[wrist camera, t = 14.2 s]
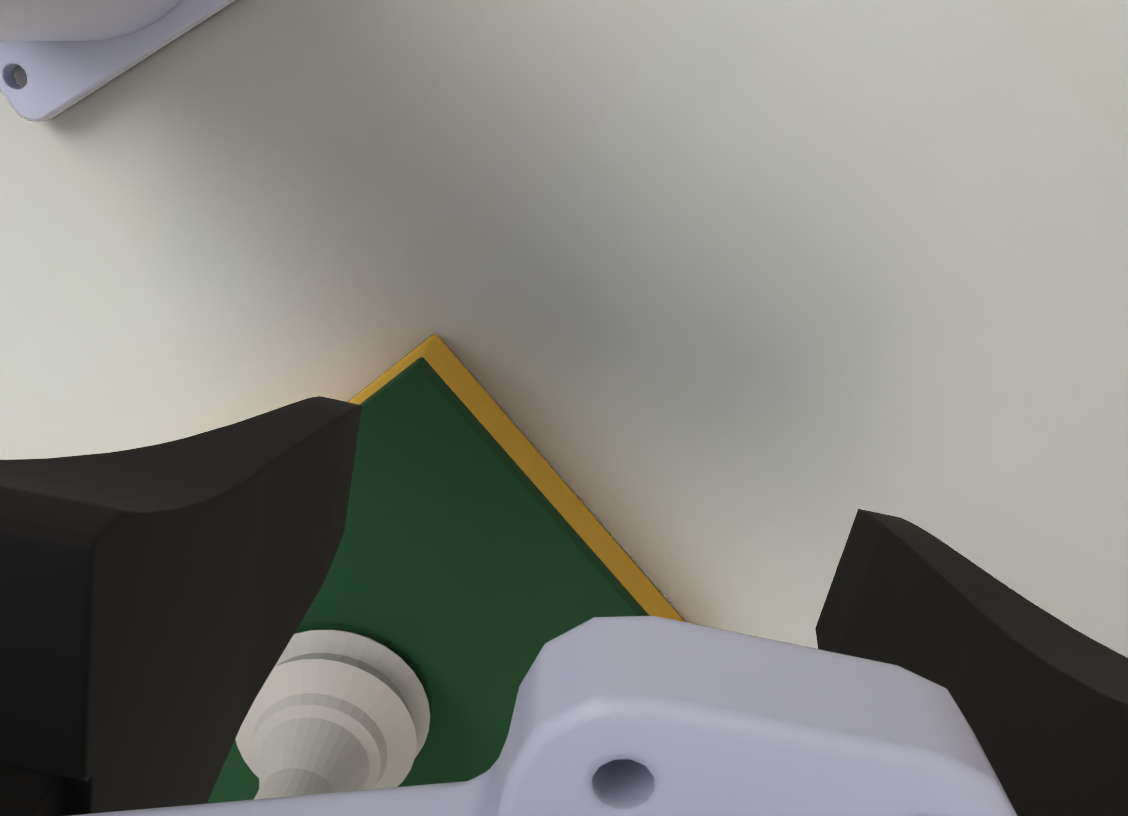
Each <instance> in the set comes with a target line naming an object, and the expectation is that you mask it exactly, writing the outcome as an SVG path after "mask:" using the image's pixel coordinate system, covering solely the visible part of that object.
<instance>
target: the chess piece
mask: <svg viewBox="0 0 1128 816" xmlns="http://www.w3.org/2000/svg"><path fill="white" fill-rule="evenodd" d="M429 724H430V710H429V703H428V699H427V696H426V694H425V691H424V688H423V686H422V684H421V682H420V681H419V679H418V678H417V676H416V675H415V673H414V672H413V670H412V669H411V668H410V667H409V666H408V665H407V664H406V663H405V662H404V661H403V660H402V659H401V658H400V657H399V656H398V655H397V654H395V653H394V652H393V651H391V650H390V649H389V648H387V647H386V646H384V645H383V644H381V643H379V642H377V641H375V640H373V639H371V638H369V637H366V636H363V635H359V634H356V633H353V632H347V631H340V630H311V631H306V632H301V633H297V634H294V635H293V637H292V638H291V640H290V641H289V643H288V645H287V646H286V648H285V650H284V651H283V653H282V655H281V656H280V658H279V660H278V661H277V663H276V665H275V666H274V668H273V670H272V672H271V673H270V675H269V677H268V678H267V680H266V682H265V683H264V685H263V687H262V688H261V690H260V692H259V693H258V695H257V697H256V698H255V700H254V702H253V704H252V706H251V708H250V710H249V712H248V713H247V715H246V717H245V719H244V721H243V723H242V725H241V727H240V730H239V732H238V734H237V736H236V743H237V747H238V749H239V751H240V753H241V755H242V757H243V759H244V761H245V762H246V764H247V765H248V766H249V768H250V769H251V770H252V772H253V773H254V774H255V775H256V776H257V777H258V778H259V791H258V792H257V794H256V796H255V798H254V799H266V798H277V797H289V796H300V795H312V794H323V793H335V792H347V791H358V790H370V789H381V788H393V787H398V786H399V785H400V784H401V783H402V782H403V780H404V779H405V777H406V776H407V774H408V773H409V771H410V770H411V767H412V765H413V762H414V759H415V758H416V756H417V755H418V753H419V752H420V750H421V749H422V747H423V746H424V743H425V740H426V737H427V735H428V732H429Z"/></svg>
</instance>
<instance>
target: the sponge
mask: <svg viewBox="0 0 1128 816" xmlns="http://www.w3.org/2000/svg"><path fill="white" fill-rule="evenodd" d="M348 402H349V403H354V404H358V405H362V410H361V417H360V424H359V431H358V438H357V445H356V452H355V460H354V467H353V474H352V481H351V488H350V495H349V502H348V509H347V516H346V523H345V530H344V534H343V536H342V539H341V541H340V544H339V547H338V549H337V552H336V554H335V557H334V559H333V562H332V564H331V567H330V569H329V571H328V574H327V576H326V579H325V581H324V583H323V585H322V587H321V589H320V591H319V592H318V594H317V596H316V598H315V599H314V601H313V603H312V604H311V606H310V608H309V610H308V611H307V613H306V615H305V616H304V618H303V620H302V621H301V623H300V625H299V627H298V628H297V630H296V632H295V633H294V634H297V633H301V632H306V631H311V630H340V631H347V632H353V633H356V634H359V635H363V636H366V637H369V638H371V639H373V640H375V641H377V642H379V643H381V644H383V645H384V646H386V647H387V648H389V649H390V650H391V651H393V652H394V653H395V654H397V655H398V656H399V657H400V658H401V659H402V660H403V661H404V662H405V663H406V664H407V665H408V666H409V667H410V668H411V669H412V670H413V672H414V673H415V675H416V676H417V678H418V679H419V681H420V682H421V684H422V686H423V688H424V691H425V694H426V696H427V699H428V703H429V710H430V724H429V732H428V735H427V737H426V740H425V743H424V746H423V747H422V749H421V750H420V752H419V753H418V755H417V756H416V758H415V759H414V762H413V765H412V767H411V770H410V771H409V773H408V774H407V776H406V777H405V779H404V780H403V782H402V783H401V784H400V785H399V786H398V787H404V786H416V785H427V784H439V783H451V782H462V781H469V780H471V779H473V778H476V777H477V776H479V775H481V774H483V773H485V772H486V771H488V770H489V769H490V768H491V767H492V765H493V764H494V763H495V762H496V761H497V759H498V758H499V756H500V754H501V751H502V749H503V747H504V744H505V742H506V739H507V737H508V733H509V728H510V724H511V720H512V716H513V711H514V707H515V703H516V698H517V694H518V690H519V686H520V684H521V683H522V681H523V679H524V678H525V676H526V674H527V673H528V671H529V669H530V668H531V666H532V664H533V663H534V661H535V659H536V658H537V656H538V654H539V652H540V651H541V649H542V647H543V646H544V644H545V643H547V642H549V641H551V640H553V639H554V638H556V637H558V636H560V635H562V634H564V633H566V632H568V631H569V630H571V629H573V628H575V627H577V626H579V625H581V624H583V623H584V622H586V621H588V620H590V619H592V618H594V617H626V616H657V617H662V618H667V619H672V620H677V621H682V622H685V621H684V620H683V619H682V618H681V617H680V615H679V614H678V613H677V612H676V611H675V610H674V608H673V607H672V606H671V605H670V604H669V603H668V602H667V600H666V599H665V598H664V597H663V596H662V595H661V593H660V592H659V591H658V590H657V589H656V588H655V587H654V585H653V584H652V583H651V582H650V581H649V580H648V578H647V577H646V576H645V575H644V574H643V573H642V571H641V570H640V569H639V568H638V567H637V566H636V565H635V563H634V562H633V561H632V560H631V559H630V558H629V556H628V555H627V554H626V553H625V552H624V551H623V549H622V548H621V547H620V546H619V545H618V544H617V543H616V541H615V540H614V539H613V538H612V537H611V536H610V534H609V533H608V532H607V531H606V530H605V529H604V528H603V526H602V525H601V524H600V523H599V522H598V521H597V519H596V518H595V517H594V516H593V515H592V514H591V512H590V511H589V510H588V509H587V508H586V507H585V506H584V504H583V503H582V502H581V501H580V500H579V499H578V497H577V496H576V495H575V494H574V493H573V492H572V490H571V489H570V488H569V487H568V486H567V485H566V484H565V482H564V481H563V480H562V479H561V478H560V477H559V475H558V474H557V473H556V472H555V471H554V470H553V469H552V467H551V466H550V465H549V464H548V463H547V462H546V460H545V459H544V458H543V457H542V456H541V455H540V453H539V452H538V451H537V450H536V449H535V448H534V447H533V445H532V444H531V443H530V442H529V441H528V440H527V438H526V437H525V436H524V435H523V434H522V433H521V432H520V430H519V429H518V428H517V427H516V426H515V425H514V423H513V422H512V421H511V420H510V419H509V418H508V416H507V415H506V414H505V413H504V412H503V411H502V410H501V408H500V407H499V406H498V405H497V404H496V403H495V401H494V400H493V399H492V398H491V397H490V396H489V394H488V393H487V392H486V391H485V390H484V389H483V388H482V386H481V385H480V384H479V383H478V382H477V381H476V379H475V378H474V377H473V376H472V375H471V374H470V373H469V371H468V370H467V369H466V368H465V367H464V366H463V364H462V363H461V362H460V361H459V360H458V359H457V357H456V356H455V355H454V354H453V353H452V352H451V351H450V349H449V348H448V347H447V346H446V345H445V344H444V342H443V341H442V340H441V339H440V338H439V337H438V336H437V335H436V334H434V335H432V336H431V337H429V338H428V339H427V340H426V341H424V342H423V343H422V344H420V345H419V346H418V347H417V348H415V349H414V350H413V351H412V352H410V353H409V354H408V355H407V356H405V357H404V358H403V359H401V360H400V361H399V362H398V363H396V364H395V365H394V366H393V367H391V368H390V369H389V370H388V371H386V372H385V373H384V374H382V375H381V376H380V377H379V378H377V379H376V380H375V381H374V382H372V383H371V384H370V385H369V386H367V387H366V388H365V389H363V390H362V391H361V392H360V393H358V394H357V395H356V396H355V397H353V398H352V399H351V400H350V401H348ZM258 791H259V778H258V777H257V776H256V775H255V774H254V773H253V772H252V770H251V769H250V768H249V766H248V765H247V764H246V762H245V761H244V759H243V757H242V755H241V753H240V751H239V749H238V747H237V743H236V739H235V741H234V743H233V745H232V747H231V750H230V752H229V754H228V756H227V759H226V761H225V763H224V765H223V768H222V770H221V772H220V774H219V777H218V779H217V781H216V783H215V786H214V788H213V790H212V793H211V795H210V797H209V800H208V802H207V804H208V803H219V802H231V801H242V800H254V798H255V796H256V794H257V792H258Z"/></svg>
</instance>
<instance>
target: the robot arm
mask: <svg viewBox="0 0 1128 816" xmlns="http://www.w3.org/2000/svg"><path fill="white" fill-rule="evenodd" d="M234 1H235V0H0V91H1V92H2V93H3V95H4V96H5V98H6V99H7V100H8V102H9V103H10V105H11V106H12V108H13V109H14V110H15V111H16V112H17V113H18V114H19V115H20V116H21V117H23V118H25V119H27V120H29V121H37V122H39V121H45V120H48V119H51V118H54V117H55V116H57V115H58V114H60V113H61V112H63V111H64V110H66V109H68V108H69V107H71V106H72V105H74V104H75V103H77V102H78V101H80V100H82V99H83V98H85V97H86V96H88V95H89V94H91V93H92V92H94V91H96V90H97V89H99V88H100V87H102V86H103V85H105V84H106V83H108V82H110V81H111V80H113V79H114V78H116V77H117V76H119V75H120V74H122V73H124V72H125V71H127V70H128V69H130V68H131V67H133V66H134V65H136V64H138V63H139V62H141V61H142V60H144V59H145V58H147V57H148V56H150V55H152V54H153V53H155V52H156V51H158V50H159V49H161V48H162V47H164V46H165V45H167V44H169V43H170V42H172V41H173V40H175V39H176V38H178V37H179V36H181V35H183V34H184V33H186V32H187V31H189V30H190V29H192V28H193V27H195V26H197V25H198V24H200V23H201V22H203V21H204V20H206V19H207V18H209V17H211V16H212V15H214V14H215V13H217V12H218V11H220V10H221V9H223V8H225V7H226V6H228V5H229V4H231V3H232V2H234ZM17 65H19V66H20V67H22V68H23V69H24V70H25V73H26V75H27V84H26V85H25V86H24V88H23V87H21V86H20V85H19V84H18V83H16V81H15V78H14V76H13V74H14V68H15V67H16V66H17ZM361 410H362V405H358V404H354V403H349V402H344V401H339V400H334V399H330V398H325V397H320V396H319V397H312V398H308V399H305V400H302V401H299V402H295V403H293V404H290V405H287V406H284V407H281V408H278V409H276V410H273V411H270V412H267V413H264V414H261V415H258V416H255V417H253V418H250V419H247V420H244V421H241V422H238V423H235V424H232V425H228V426H225V427H222V428H218V429H215V430H211V431H208V432H205V433H201V434H198V435H194V436H191V437H187V438H184V439H180V440H176V441H172V442H167V443H162V444H158V445H153V446H147V447H142V448H136V449H130V450H125V451H118V452H111V453H102V454H92V455H81V456H70V457H60V458H49V459H24V460H0V816H1128V658H1126V657H1124V656H1123V655H1121V654H1119V653H1117V652H1115V651H1113V650H1111V649H1109V648H1108V647H1106V646H1104V645H1102V644H1100V643H1098V642H1096V641H1094V640H1093V639H1091V638H1089V637H1087V636H1085V635H1084V634H1082V633H1080V632H1079V631H1077V630H1075V629H1073V628H1072V627H1070V626H1068V625H1067V624H1065V623H1063V622H1062V621H1060V620H1059V619H1057V618H1055V617H1054V616H1052V615H1051V614H1049V613H1047V612H1046V611H1044V610H1043V609H1041V608H1039V607H1038V606H1036V605H1035V604H1033V603H1031V602H1030V601H1028V600H1027V599H1025V598H1024V597H1022V596H1021V595H1019V594H1018V593H1016V592H1015V591H1013V590H1012V589H1010V588H1009V587H1007V586H1006V585H1004V584H1003V583H1001V582H1000V581H998V580H997V579H996V578H994V577H993V576H991V575H990V574H988V573H987V572H985V571H984V570H983V569H981V568H980V567H978V566H977V565H975V564H974V563H972V562H971V561H970V560H968V559H967V558H965V557H964V556H962V555H961V554H959V553H958V552H957V551H955V550H954V549H952V548H951V547H949V546H948V545H946V544H945V543H943V542H942V541H940V540H939V539H937V538H936V537H934V536H933V535H931V534H930V533H928V532H926V531H925V530H923V529H921V528H920V527H918V526H916V525H914V524H913V523H911V522H909V521H906V520H904V519H902V518H899V517H894V516H890V515H885V514H880V513H875V512H870V511H866V510H861V509H858V512H857V514H856V517H855V520H854V523H853V525H852V528H851V531H850V534H849V537H848V539H847V542H846V545H845V548H844V551H843V553H842V556H841V559H840V562H839V564H838V567H837V570H836V573H835V576H834V578H833V581H832V584H831V587H830V590H829V592H828V595H827V598H826V601H825V603H824V606H823V609H822V612H821V615H820V617H819V620H818V623H817V626H816V635H817V643H818V649H814V648H810V647H805V646H800V645H795V644H790V643H785V642H780V641H775V640H770V639H765V638H760V637H755V636H751V635H746V634H741V633H736V632H731V631H726V630H721V629H716V628H711V627H706V626H701V625H696V624H692V623H687V622H682V621H677V620H672V619H667V618H662V617H657V616H626V617H594V618H592V619H590V620H588V621H586V622H584V623H583V624H581V625H579V626H577V627H575V628H573V629H571V630H569V631H568V632H566V633H564V634H562V635H560V636H558V637H556V638H554V639H553V640H551V641H549V642H547V643H545V644H544V646H543V647H542V649H541V651H540V652H539V654H538V656H537V658H536V659H535V661H534V663H533V664H532V666H531V668H530V669H529V671H528V673H527V674H526V676H525V678H524V679H523V681H522V683H521V684H520V686H519V690H518V694H517V698H516V703H515V707H514V711H513V716H512V720H511V724H510V728H509V733H508V737H507V739H506V742H505V744H504V747H503V749H502V751H501V754H500V756H499V758H498V759H497V761H496V762H495V763H494V764H493V765H492V767H491V768H490V769H489V770H488V771H486V772H485V773H483V774H481V775H479V776H477V777H476V778H473V779H471V780H469V781H462V782H451V783H439V784H427V785H416V786H404V787H393V788H381V789H370V790H358V791H347V792H335V793H323V794H312V795H300V796H289V797H277V798H266V799H254V800H242V801H231V802H219V803H208V804H207V802H208V800H209V797H210V795H211V793H212V790H213V788H214V786H215V783H216V781H217V779H218V777H219V774H220V772H221V770H222V768H223V765H224V763H225V761H226V759H227V756H228V754H229V752H230V750H231V747H232V745H233V743H234V741H235V739H236V736H237V734H238V732H239V730H240V727H241V725H242V723H243V721H244V719H245V717H246V715H247V713H248V712H249V710H250V708H251V706H252V704H253V702H254V700H255V698H256V697H257V695H258V693H259V692H260V690H261V688H262V687H263V685H264V683H265V682H266V680H267V678H268V677H269V675H270V673H271V672H272V670H273V668H274V666H275V665H276V663H277V661H278V660H279V658H280V656H281V655H282V653H283V651H284V650H285V648H286V646H287V645H288V643H289V641H290V640H291V638H292V637H293V635H294V633H295V632H296V630H297V628H298V627H299V625H300V623H301V621H302V620H303V618H304V616H305V615H306V613H307V611H308V610H309V608H310V606H311V604H312V603H313V601H314V599H315V598H316V596H317V594H318V592H319V591H320V589H321V587H322V585H323V583H324V581H325V579H326V576H327V574H328V571H329V569H330V567H331V564H332V562H333V559H334V557H335V554H336V552H337V549H338V547H339V544H340V541H341V539H342V536H343V534H344V530H345V523H346V516H347V509H348V502H349V495H350V488H351V481H352V474H353V467H354V460H355V452H356V445H357V438H358V431H359V424H360V417H361Z"/></svg>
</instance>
